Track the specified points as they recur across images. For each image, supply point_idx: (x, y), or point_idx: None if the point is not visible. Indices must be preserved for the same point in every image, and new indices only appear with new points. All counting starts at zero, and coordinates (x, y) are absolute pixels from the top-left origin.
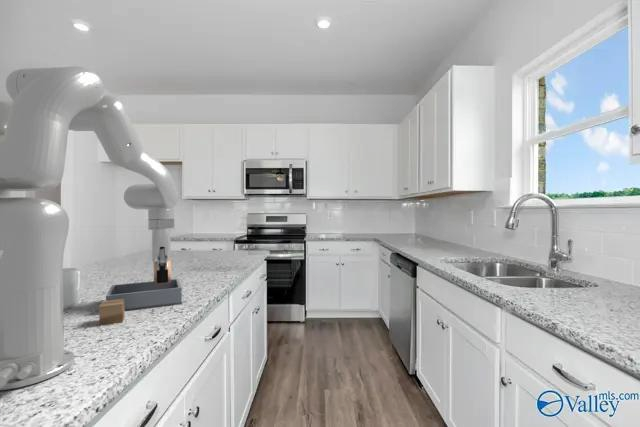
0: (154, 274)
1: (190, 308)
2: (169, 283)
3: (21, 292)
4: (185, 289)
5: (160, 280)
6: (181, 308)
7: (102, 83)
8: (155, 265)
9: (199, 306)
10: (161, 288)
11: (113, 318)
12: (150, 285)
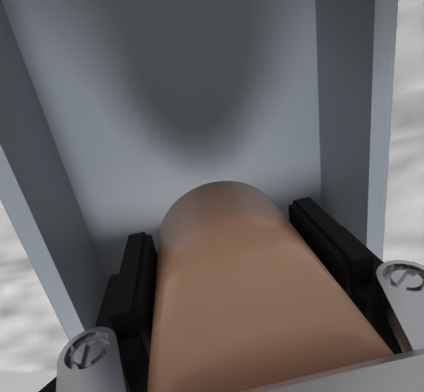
0: (188, 238)
1: (14, 338)
2: (352, 233)
3: None
4: (387, 259)
5: (115, 275)
6: (19, 304)
7: None
8: (177, 338)
9: (43, 364)
10: (335, 176)
11: None
12: (353, 112)
